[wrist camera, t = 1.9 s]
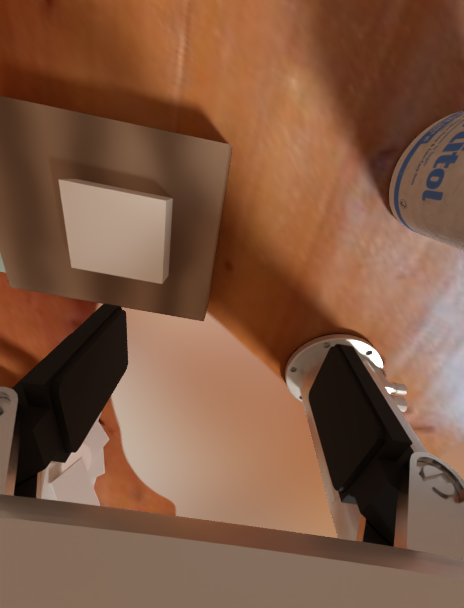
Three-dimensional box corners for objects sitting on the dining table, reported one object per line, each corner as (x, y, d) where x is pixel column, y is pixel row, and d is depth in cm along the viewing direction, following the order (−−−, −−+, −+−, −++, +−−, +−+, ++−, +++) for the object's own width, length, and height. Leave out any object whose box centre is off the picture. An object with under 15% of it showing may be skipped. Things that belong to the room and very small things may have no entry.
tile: (172, 198, 20) (166, 200, 18) (168, 275, 23) (162, 284, 22) (74, 178, 20) (58, 179, 18) (84, 260, 23) (71, 267, 21)
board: (232, 148, 22) (229, 144, 18) (208, 303, 29) (203, 321, 26) (1, 99, 21) (-49, 85, 17) (39, 272, 28) (10, 287, 25)
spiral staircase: (7, 402, 46) (105, 368, 39) (40, 489, 46) (144, 470, 39) (-170, 479, 29) (-52, 442, 22) (-117, 617, 29) (19, 626, 22)
